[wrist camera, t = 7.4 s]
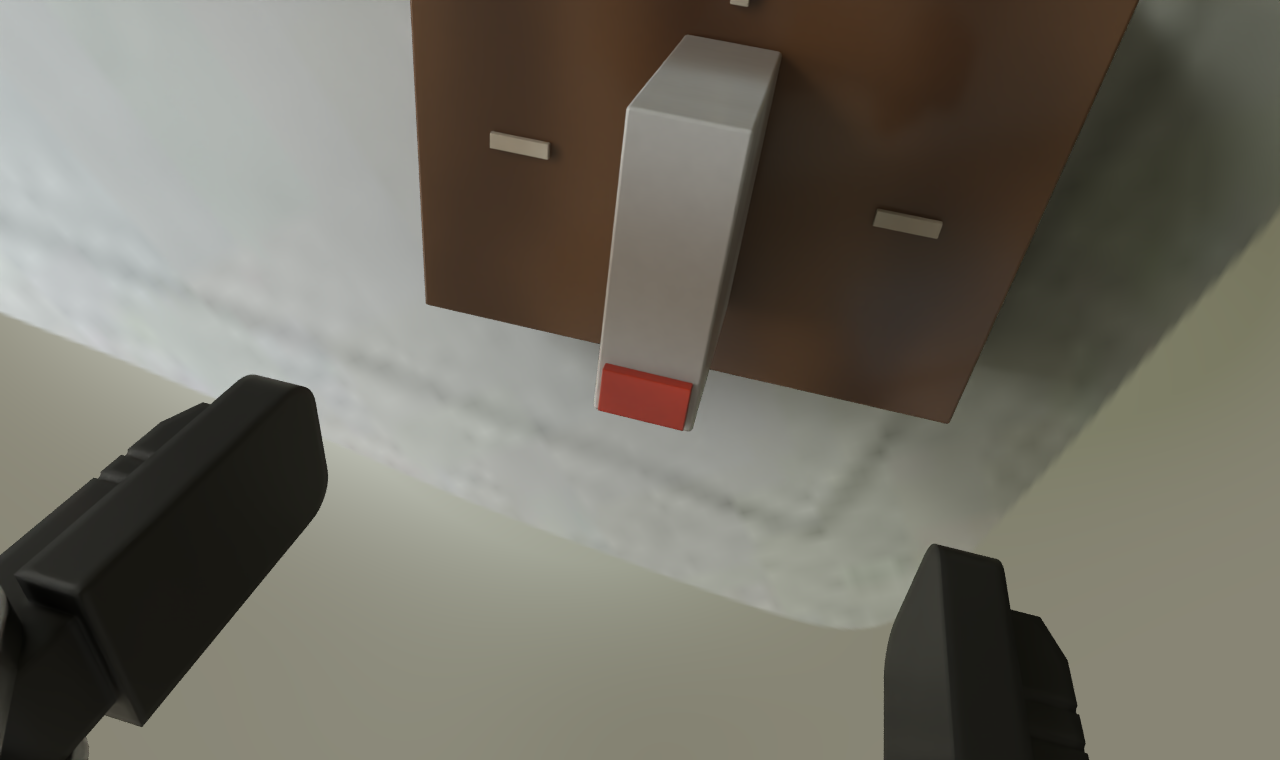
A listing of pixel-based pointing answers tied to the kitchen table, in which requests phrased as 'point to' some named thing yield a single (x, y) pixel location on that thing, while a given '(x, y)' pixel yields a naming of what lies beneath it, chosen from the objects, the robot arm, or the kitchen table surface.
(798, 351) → the base
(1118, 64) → the kitchen table surface
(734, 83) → the tap lever
